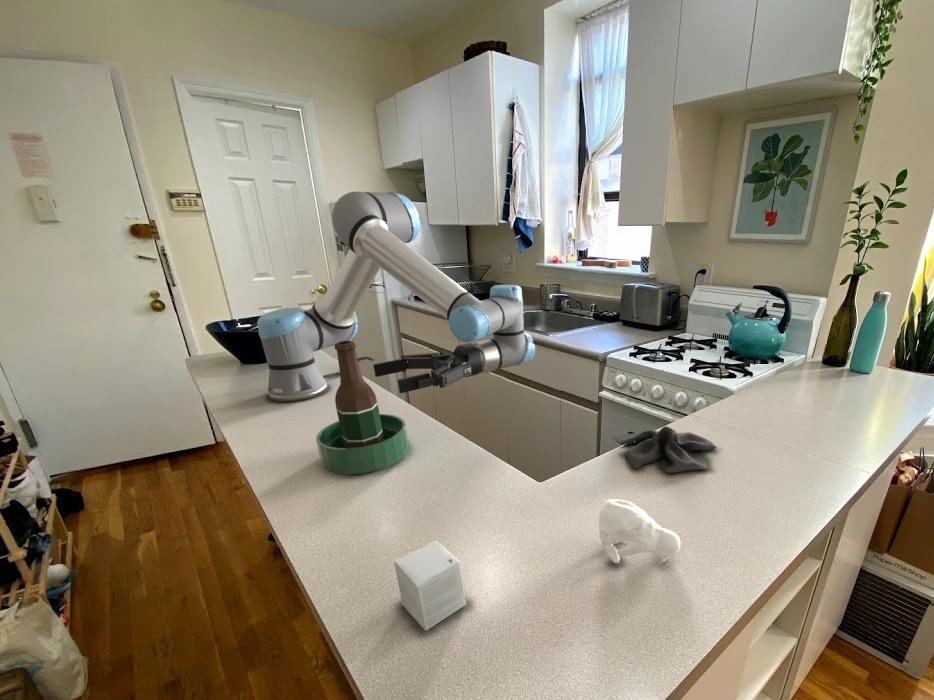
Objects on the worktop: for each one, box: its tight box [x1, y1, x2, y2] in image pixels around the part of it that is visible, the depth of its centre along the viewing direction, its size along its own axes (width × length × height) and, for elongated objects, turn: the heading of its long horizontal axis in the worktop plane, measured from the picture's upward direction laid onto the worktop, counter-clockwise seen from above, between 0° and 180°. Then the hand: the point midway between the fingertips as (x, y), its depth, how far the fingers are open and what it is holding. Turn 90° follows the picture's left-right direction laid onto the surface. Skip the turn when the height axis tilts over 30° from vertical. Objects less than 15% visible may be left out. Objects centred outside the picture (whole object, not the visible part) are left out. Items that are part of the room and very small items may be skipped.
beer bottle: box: [334, 340, 384, 448], centre depth 93 cm, size 8×8×24 cm
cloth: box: [611, 425, 717, 474], centre depth 97 cm, size 22×19×6 cm
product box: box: [393, 540, 467, 632], centre depth 59 cm, size 6×6×7 cm
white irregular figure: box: [598, 499, 681, 564], centre depth 67 cm, size 6×8×12 cm
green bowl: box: [315, 413, 410, 475], centre depth 97 cm, size 17×17×6 cm
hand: (386, 378), depth 96 cm, fingers open, 13 cm apart
